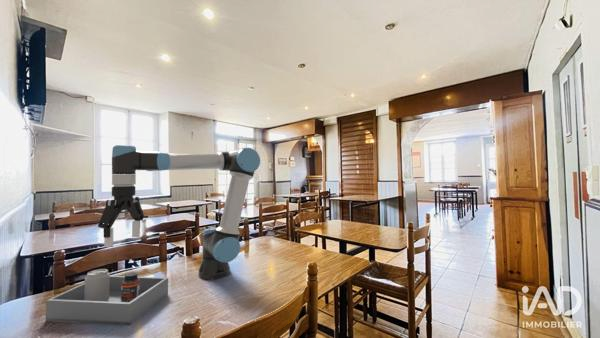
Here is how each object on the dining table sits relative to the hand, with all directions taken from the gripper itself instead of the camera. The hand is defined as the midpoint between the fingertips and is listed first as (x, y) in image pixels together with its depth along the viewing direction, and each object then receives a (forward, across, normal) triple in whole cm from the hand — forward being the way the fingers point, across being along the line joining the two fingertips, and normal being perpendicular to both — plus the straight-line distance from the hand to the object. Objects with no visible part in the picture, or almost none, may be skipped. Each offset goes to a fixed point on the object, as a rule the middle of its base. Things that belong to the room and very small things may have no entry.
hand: (123, 241), depth 97 cm
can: (+24, 0, -10) cm, 26 cm away
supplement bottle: (+24, 0, +3) cm, 24 cm away
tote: (+25, 0, -4) cm, 25 cm away
